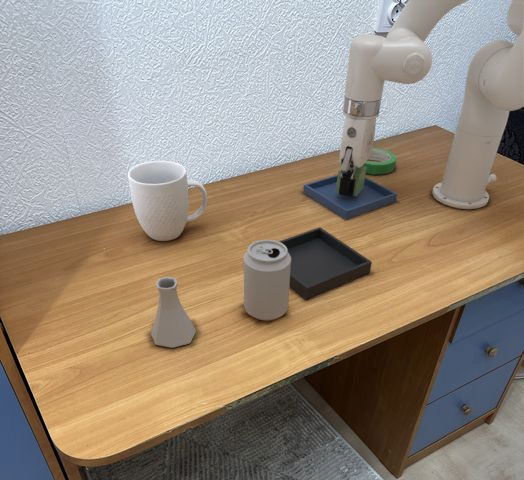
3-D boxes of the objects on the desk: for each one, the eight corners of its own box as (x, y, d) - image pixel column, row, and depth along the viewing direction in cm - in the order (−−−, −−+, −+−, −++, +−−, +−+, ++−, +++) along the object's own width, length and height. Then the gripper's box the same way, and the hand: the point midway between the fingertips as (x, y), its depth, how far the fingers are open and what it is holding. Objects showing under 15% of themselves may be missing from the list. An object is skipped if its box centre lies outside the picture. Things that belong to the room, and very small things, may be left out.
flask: (152, 320, 84) (143, 269, 77) (196, 318, 85) (191, 268, 78) (149, 350, 79) (139, 298, 72) (196, 348, 79) (190, 296, 73)
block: (342, 183, 119) (345, 162, 116) (363, 187, 118) (366, 166, 114) (335, 191, 116) (338, 170, 112) (356, 196, 114) (360, 175, 111)
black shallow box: (318, 237, 104) (319, 226, 103) (369, 273, 95) (372, 261, 94) (257, 259, 98) (257, 248, 96) (305, 300, 89) (307, 288, 87)
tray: (351, 177, 126) (352, 169, 124) (395, 202, 117) (397, 193, 115) (303, 192, 119) (303, 184, 118) (345, 219, 110) (347, 211, 109)
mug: (202, 214, 111) (197, 154, 102) (216, 239, 103) (213, 177, 95) (133, 224, 107) (123, 164, 98) (143, 251, 100) (132, 188, 91)
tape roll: (367, 154, 137) (369, 144, 135) (402, 166, 131) (404, 156, 130) (342, 165, 131) (343, 155, 129) (378, 179, 125) (380, 168, 124)
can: (283, 326, 84) (287, 264, 75) (239, 320, 85) (238, 258, 76) (291, 299, 89) (295, 239, 81) (249, 293, 90) (249, 233, 82)
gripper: (367, 121, 98) (353, 209, 110) (390, 97, 109) (376, 179, 121) (330, 115, 100) (321, 201, 112) (356, 92, 111) (346, 172, 124)
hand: (349, 189), depth 117 cm, fingers closed on block, 5 cm apart
